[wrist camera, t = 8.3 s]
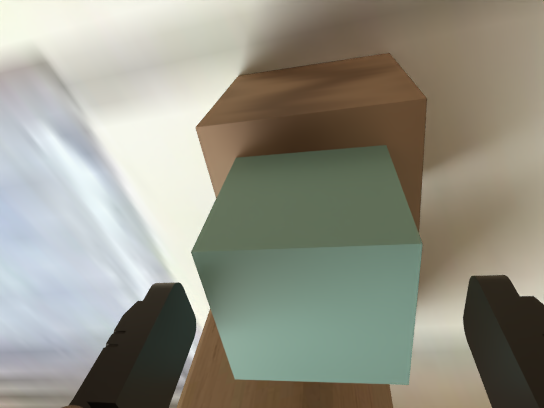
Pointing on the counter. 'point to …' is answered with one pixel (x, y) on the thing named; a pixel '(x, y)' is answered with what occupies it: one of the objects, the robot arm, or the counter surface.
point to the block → (265, 385)
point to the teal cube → (313, 267)
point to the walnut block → (320, 117)
